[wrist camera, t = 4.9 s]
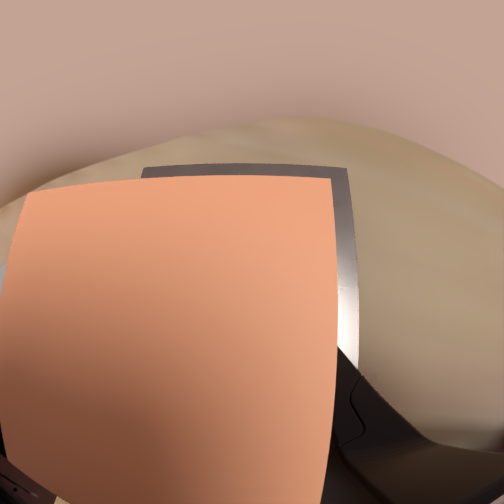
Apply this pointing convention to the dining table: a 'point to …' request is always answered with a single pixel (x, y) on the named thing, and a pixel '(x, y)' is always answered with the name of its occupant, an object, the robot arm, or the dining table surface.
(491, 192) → the dining table surface
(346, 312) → the steel slotted plate
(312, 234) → the terracotta block
